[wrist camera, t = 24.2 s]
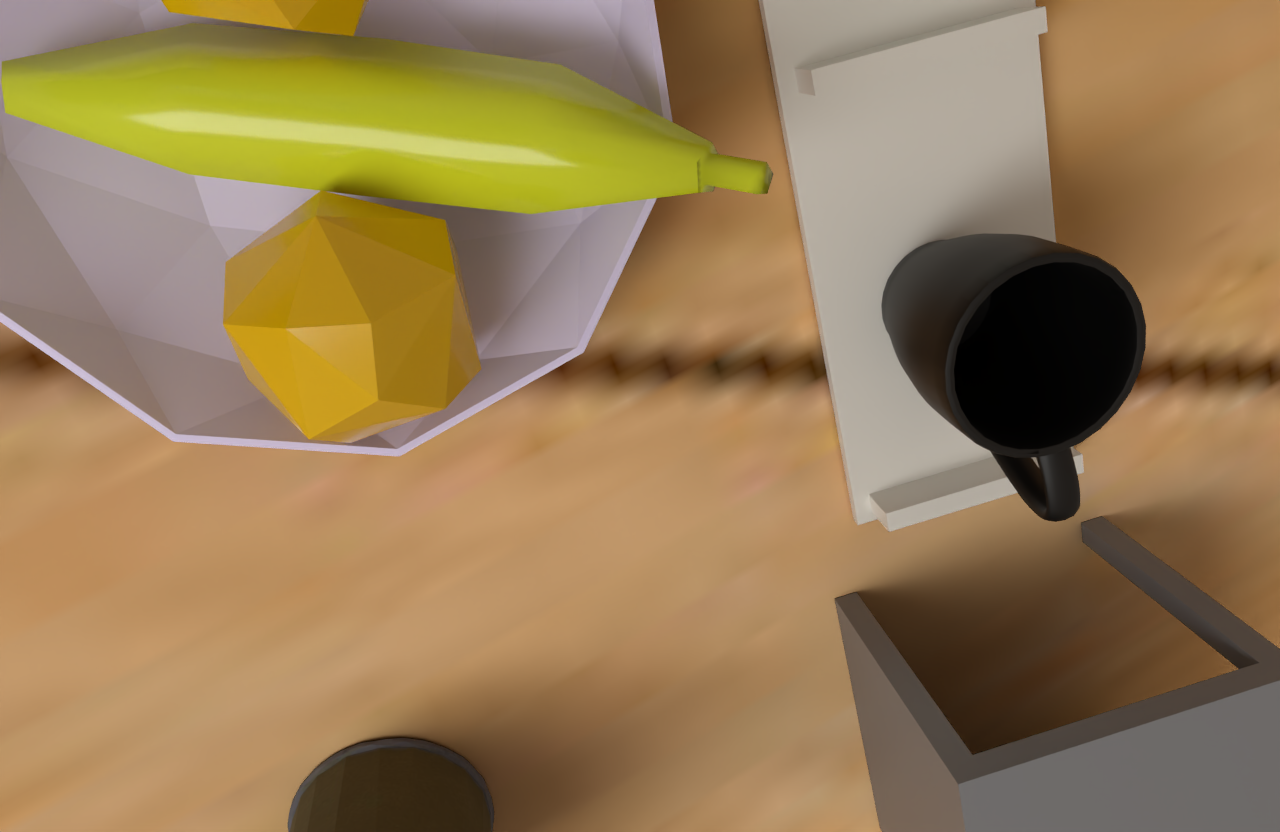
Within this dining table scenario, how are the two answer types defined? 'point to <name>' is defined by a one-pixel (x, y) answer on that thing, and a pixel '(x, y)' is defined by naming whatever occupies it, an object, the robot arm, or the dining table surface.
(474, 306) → the fruit bowl
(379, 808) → the canister
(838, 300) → the narrow white tray
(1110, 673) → the dining table surface
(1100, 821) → the box
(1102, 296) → the mug
